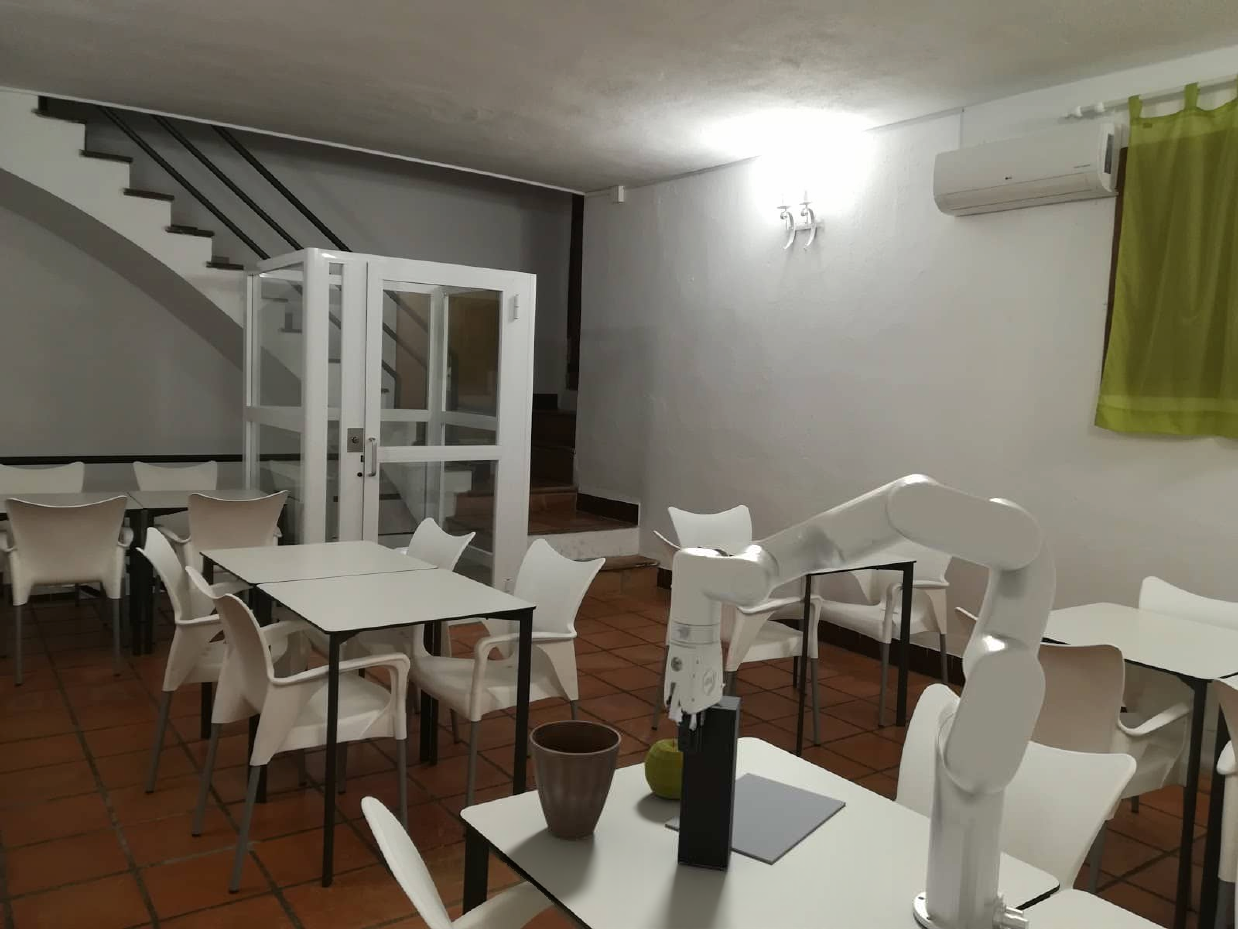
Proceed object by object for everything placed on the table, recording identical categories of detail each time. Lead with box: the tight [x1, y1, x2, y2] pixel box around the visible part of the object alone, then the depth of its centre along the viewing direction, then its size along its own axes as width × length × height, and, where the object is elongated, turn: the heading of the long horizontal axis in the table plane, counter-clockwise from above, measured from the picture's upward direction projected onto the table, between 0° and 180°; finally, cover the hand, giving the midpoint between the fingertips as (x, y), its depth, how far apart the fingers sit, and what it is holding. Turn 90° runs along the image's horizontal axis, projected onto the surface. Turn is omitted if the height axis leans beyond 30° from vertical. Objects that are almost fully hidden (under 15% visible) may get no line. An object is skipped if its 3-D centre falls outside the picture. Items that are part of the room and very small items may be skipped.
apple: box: [644, 736, 683, 800], centre depth 174 cm, size 10×10×11 cm
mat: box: [664, 772, 847, 865], centre depth 168 cm, size 20×29×1 cm
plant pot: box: [529, 720, 622, 841], centre depth 158 cm, size 15×15×16 cm
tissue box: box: [676, 683, 741, 870], centre depth 151 cm, size 8×8×28 cm
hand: (689, 751), depth 145 cm, fingers closed
